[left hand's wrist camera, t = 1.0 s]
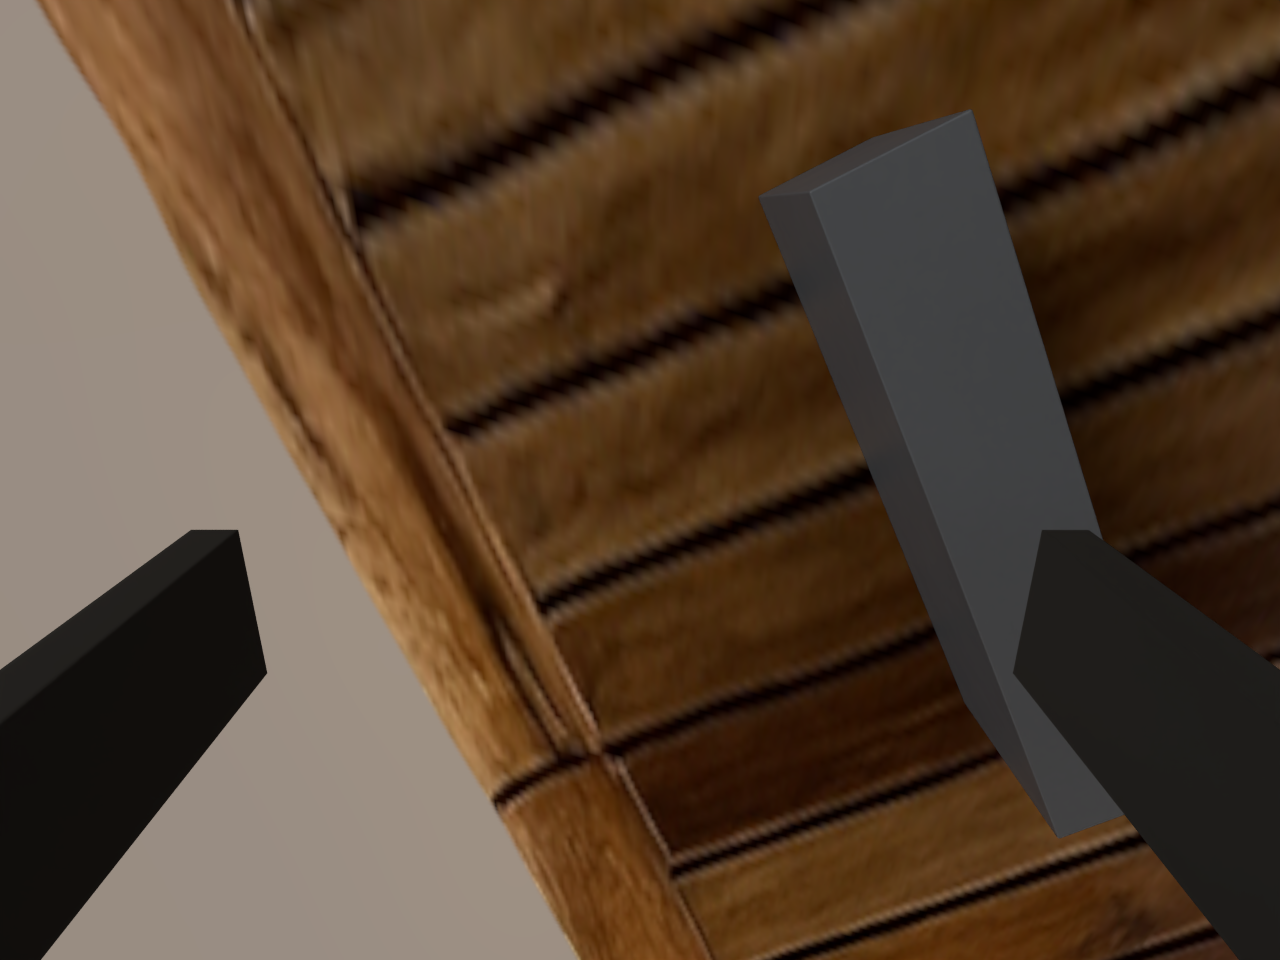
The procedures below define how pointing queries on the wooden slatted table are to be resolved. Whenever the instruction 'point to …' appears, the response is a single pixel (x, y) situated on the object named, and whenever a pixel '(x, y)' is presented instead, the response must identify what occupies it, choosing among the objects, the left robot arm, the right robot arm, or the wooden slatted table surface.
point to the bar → (948, 409)
